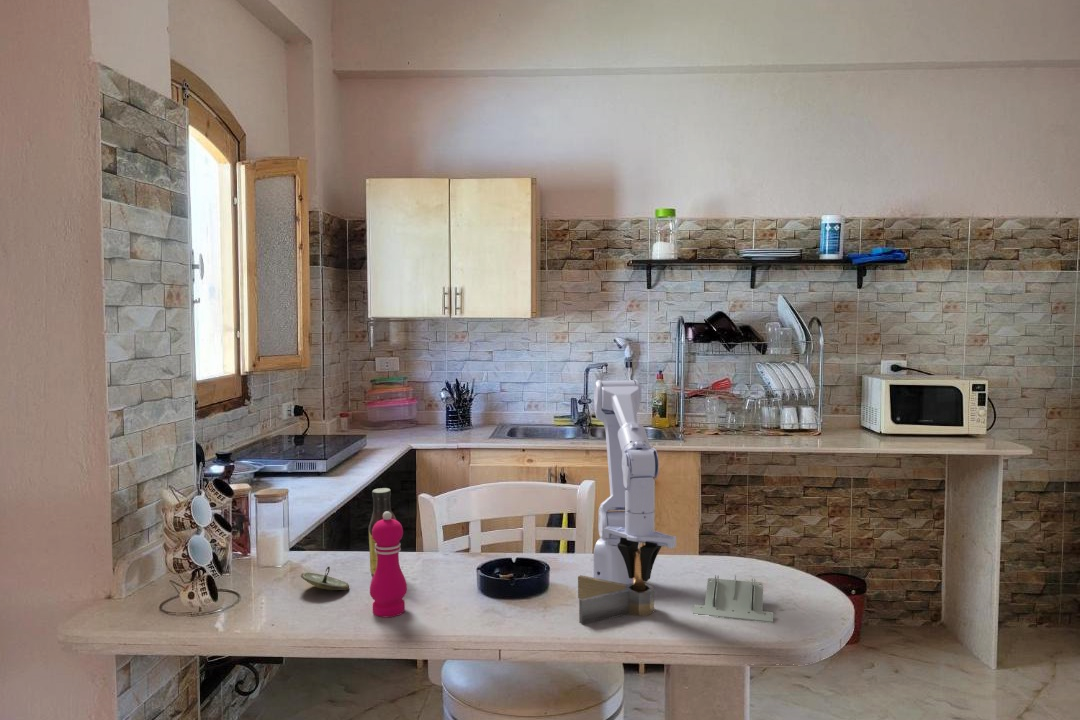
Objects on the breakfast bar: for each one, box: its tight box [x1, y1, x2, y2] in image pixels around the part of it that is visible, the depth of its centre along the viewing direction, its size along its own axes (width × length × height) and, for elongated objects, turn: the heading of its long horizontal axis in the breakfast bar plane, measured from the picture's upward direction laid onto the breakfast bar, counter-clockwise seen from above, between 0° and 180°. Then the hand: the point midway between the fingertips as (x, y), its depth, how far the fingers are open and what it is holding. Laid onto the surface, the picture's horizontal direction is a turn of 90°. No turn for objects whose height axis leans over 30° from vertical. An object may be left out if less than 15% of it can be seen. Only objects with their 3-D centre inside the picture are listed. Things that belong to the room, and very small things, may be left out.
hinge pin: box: [633, 548, 647, 592], centre depth 158 cm, size 2×2×8 cm
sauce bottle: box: [368, 487, 400, 580], centre depth 177 cm, size 7×6×20 cm
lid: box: [300, 566, 350, 591], centre depth 170 cm, size 11×10×5 cm
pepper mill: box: [369, 511, 408, 618], centre depth 158 cm, size 7×7×20 cm
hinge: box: [577, 574, 655, 625], centre depth 157 cm, size 16×15×4 cm
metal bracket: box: [692, 574, 774, 624], centre depth 160 cm, size 14×6×15 cm
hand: (639, 578), depth 158 cm, fingers closed on hinge pin, 2 cm apart
